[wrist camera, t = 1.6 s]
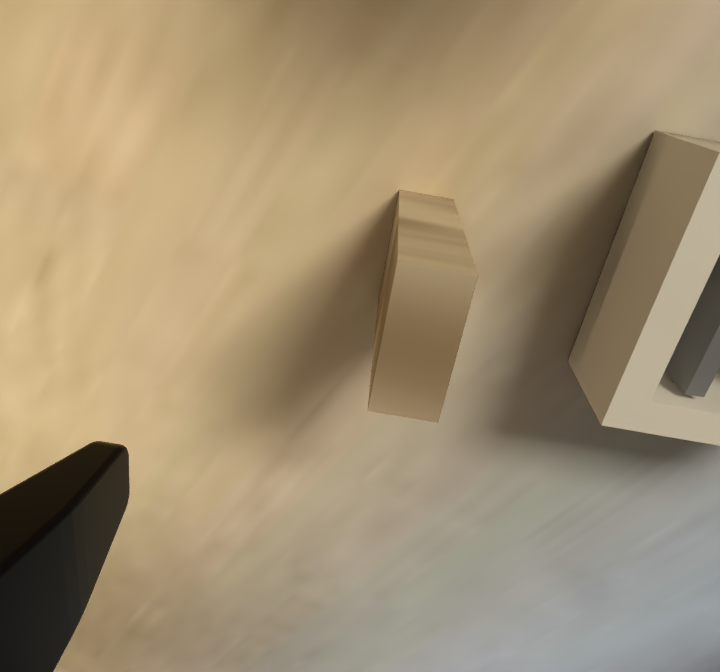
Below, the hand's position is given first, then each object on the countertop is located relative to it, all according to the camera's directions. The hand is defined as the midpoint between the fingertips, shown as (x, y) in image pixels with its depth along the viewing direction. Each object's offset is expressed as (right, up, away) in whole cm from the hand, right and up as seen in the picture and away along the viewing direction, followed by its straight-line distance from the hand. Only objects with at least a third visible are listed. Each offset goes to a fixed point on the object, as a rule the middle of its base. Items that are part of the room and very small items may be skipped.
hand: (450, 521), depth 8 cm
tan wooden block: (+1, +5, +12) cm, 13 cm away
